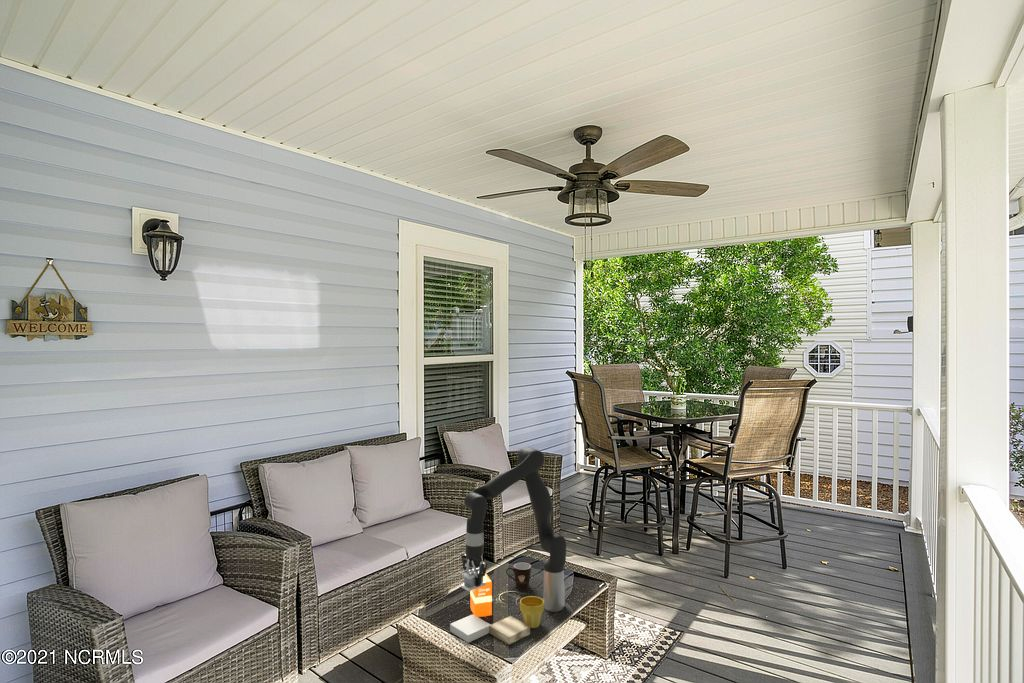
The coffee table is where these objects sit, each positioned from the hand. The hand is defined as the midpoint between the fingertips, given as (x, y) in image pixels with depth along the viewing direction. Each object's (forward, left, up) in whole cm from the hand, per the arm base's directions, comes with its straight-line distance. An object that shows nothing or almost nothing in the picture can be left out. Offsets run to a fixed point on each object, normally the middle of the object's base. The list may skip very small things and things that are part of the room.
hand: (473, 583), depth 222 cm
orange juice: (-14, -11, -20) cm, 27 cm away
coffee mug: (-45, -18, -20) cm, 52 cm away
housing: (0, 0, -1) cm, 1 cm away
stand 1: (0, -1, -20) cm, 20 cm away
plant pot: (-23, +12, -20) cm, 33 cm away
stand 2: (-11, +11, -20) cm, 25 cm away
